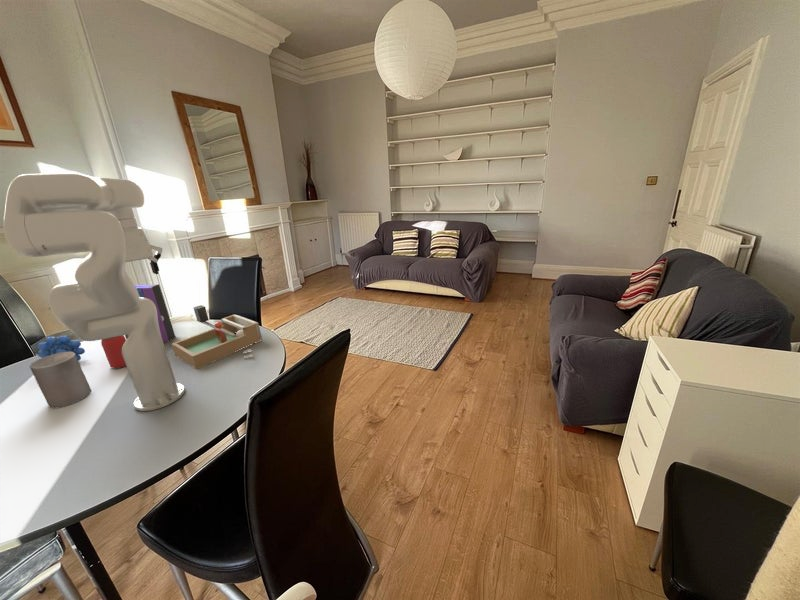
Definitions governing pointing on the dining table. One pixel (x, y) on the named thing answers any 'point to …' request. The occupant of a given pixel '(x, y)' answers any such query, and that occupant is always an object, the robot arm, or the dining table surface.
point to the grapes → (60, 346)
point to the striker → (202, 317)
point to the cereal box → (158, 309)
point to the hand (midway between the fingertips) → (139, 277)
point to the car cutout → (247, 355)
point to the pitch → (217, 342)
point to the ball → (239, 333)
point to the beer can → (114, 351)
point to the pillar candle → (60, 379)
